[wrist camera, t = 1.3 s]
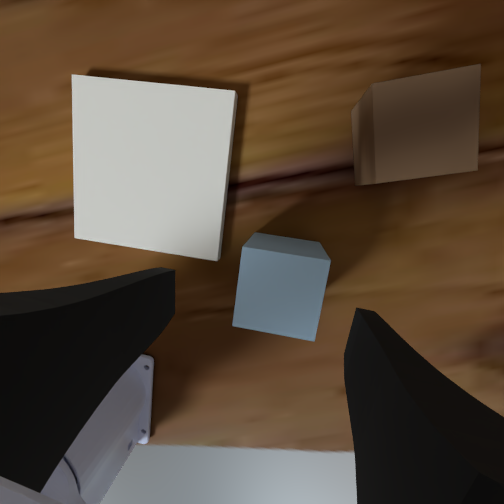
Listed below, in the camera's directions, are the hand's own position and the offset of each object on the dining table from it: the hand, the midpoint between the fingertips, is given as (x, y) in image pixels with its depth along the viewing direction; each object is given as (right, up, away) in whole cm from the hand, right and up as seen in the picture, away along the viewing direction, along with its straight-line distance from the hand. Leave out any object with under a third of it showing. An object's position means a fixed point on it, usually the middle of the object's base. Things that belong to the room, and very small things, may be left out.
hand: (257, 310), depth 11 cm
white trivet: (-8, +9, +11) cm, 16 cm away
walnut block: (+9, +10, +8) cm, 16 cm away
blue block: (+2, +1, +11) cm, 11 cm away
